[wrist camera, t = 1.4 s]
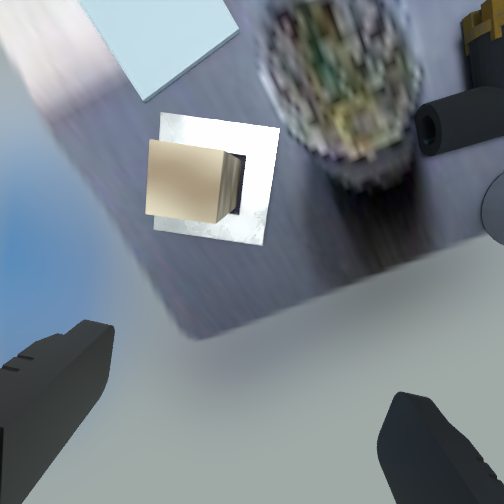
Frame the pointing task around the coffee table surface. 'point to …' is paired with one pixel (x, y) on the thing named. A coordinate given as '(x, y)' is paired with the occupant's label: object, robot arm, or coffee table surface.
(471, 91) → the pipe connector
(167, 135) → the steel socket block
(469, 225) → the coffee table surface
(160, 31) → the pale blue plate
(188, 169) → the maple peg
